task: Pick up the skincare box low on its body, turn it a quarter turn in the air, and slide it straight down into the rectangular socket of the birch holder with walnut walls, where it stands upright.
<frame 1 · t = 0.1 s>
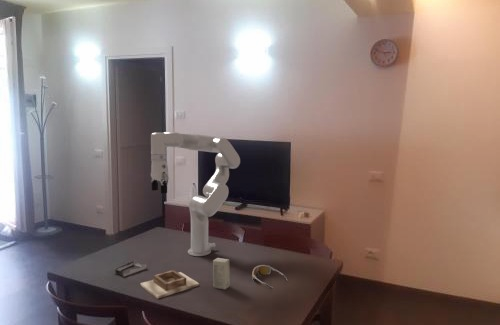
hand: (159, 191, 186), 37 cm above the table, tool pointing down, fingers open, 9 cm apart
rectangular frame: (129, 271, 180), on the table
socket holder: (169, 285, 164), on the table
sunglasses: (268, 281, 172), on the table
skincare box: (221, 287, 164), on the table
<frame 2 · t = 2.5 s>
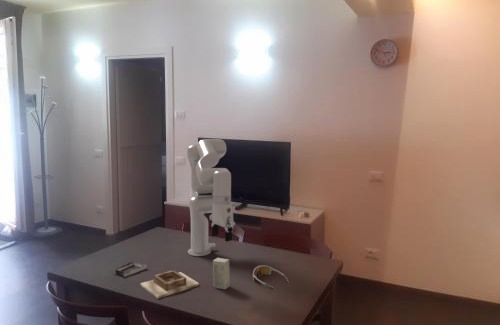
hand: (221, 238, 162), 22 cm above the table, tool pointing down, fingers open, 9 cm apart
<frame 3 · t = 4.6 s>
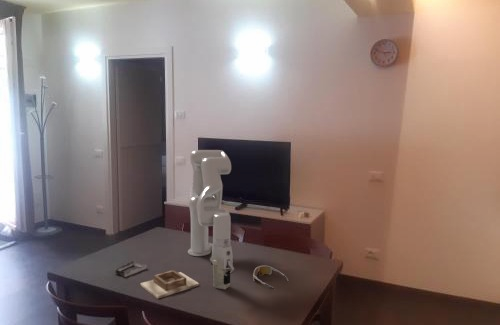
hand: (221, 280, 164), 3 cm above the table, tool pointing down, fingers closed on skincare box, 7 cm apart
skincare box: (221, 287, 164), on the table, touching gripper
everything else where it was.
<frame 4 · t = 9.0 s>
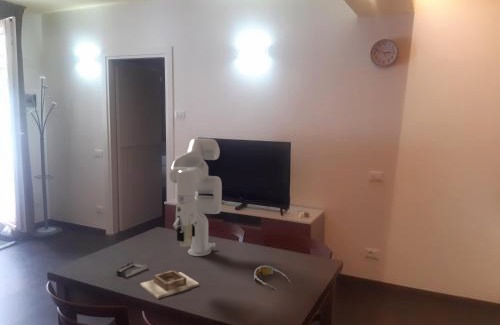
hand: (186, 238, 162), 22 cm above the table, tool pointing down, fingers closed on skincare box, 7 cm apart
skincare box: (186, 245, 162), point 18 cm above the table, touching gripper
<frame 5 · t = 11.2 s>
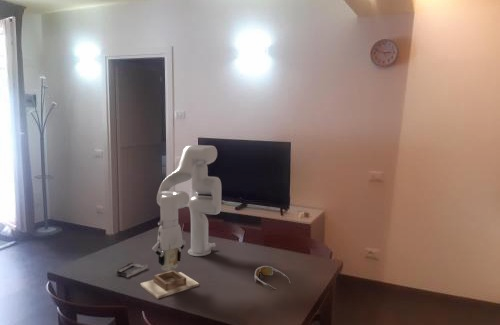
hand: (169, 262, 163), 11 cm above the table, tool pointing down, fingers closed on skincare box, 7 cm apart
skincare box: (170, 268, 164), point 8 cm above the table, touching gripper
when the fingers open (5 cm above the table, at t = 13.2 s): skincare box drops 1 cm, resting on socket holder.
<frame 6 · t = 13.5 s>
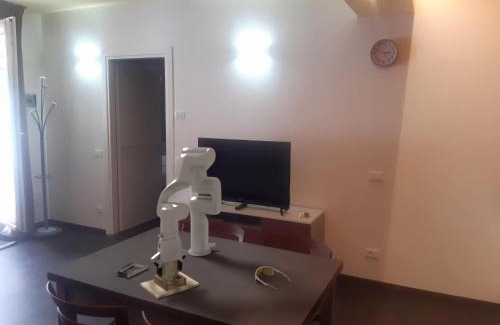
hand: (169, 272, 164), 6 cm above the table, tool pointing down, fingers open, 9 cm apart
skincare box: (169, 283, 164), point 1 cm above the table, touching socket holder
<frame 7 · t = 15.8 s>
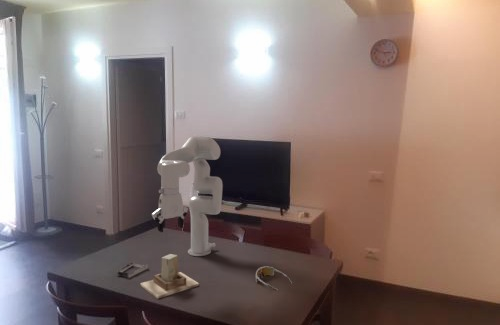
hand: (170, 229, 164), 25 cm above the table, tool pointing down, fingers open, 9 cm apart
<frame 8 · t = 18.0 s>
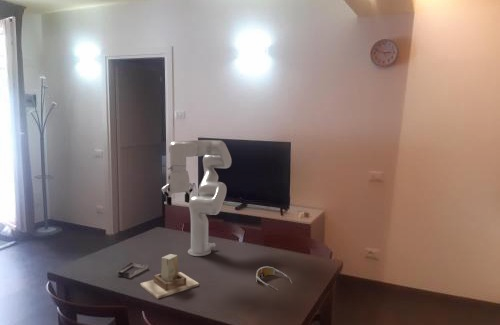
hand: (178, 203, 181), 32 cm above the table, tool pointing down, fingers open, 9 cm apart
at the end: skincare box inside the target area on the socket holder (0.2 cm from its centre), point 0.8 cm above the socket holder's base; skincare box tilted 0°; the gripper is holding nothing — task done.
